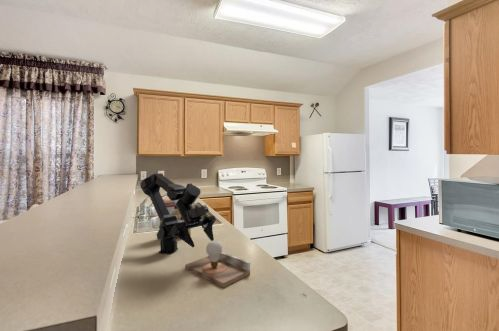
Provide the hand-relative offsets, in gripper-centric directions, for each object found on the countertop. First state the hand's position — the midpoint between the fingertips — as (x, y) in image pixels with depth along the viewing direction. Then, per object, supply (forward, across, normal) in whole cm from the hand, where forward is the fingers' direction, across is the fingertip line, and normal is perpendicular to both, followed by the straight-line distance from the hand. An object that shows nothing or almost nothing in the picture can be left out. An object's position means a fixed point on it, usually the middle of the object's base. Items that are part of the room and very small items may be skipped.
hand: (203, 243), depth 100 cm
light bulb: (+10, 0, +1) cm, 10 cm away
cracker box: (-22, +14, +37) cm, 45 cm away
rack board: (+11, +1, +2) cm, 11 cm away
